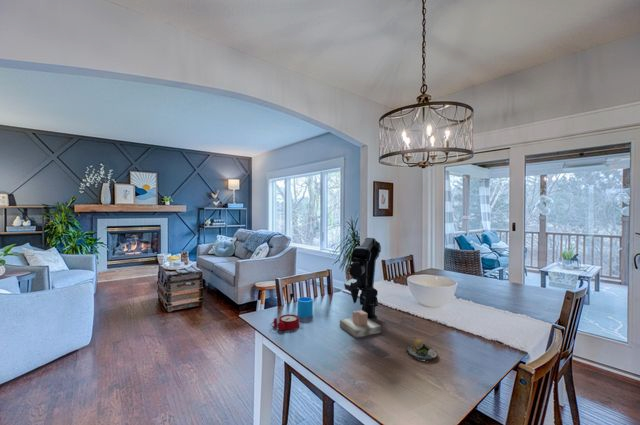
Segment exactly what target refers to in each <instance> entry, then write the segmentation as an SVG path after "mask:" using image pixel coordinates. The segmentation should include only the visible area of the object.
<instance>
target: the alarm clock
mask: <svg viewBox="0 0 640 425" xmlns="http://www.w3.org/2000/svg"><path fill="white" fill-rule="evenodd" d="M278 320H279V321H278ZM299 321H300V322H301V319H299V316H298V315H296V314H284V315H280V316H279V318H277V317H274V319H273V321H272V323H270V326H271V327H272V328H277V329H278V331H281V332H284V331H292V330H296V329H298V328H299V327H300V322H299ZM272 324H273V325H272Z"/></svg>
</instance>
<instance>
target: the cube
mask: <svg viewBox="0 0 640 425" xmlns="http://www.w3.org/2000/svg"><path fill="white" fill-rule="evenodd" d="M352 318H353V322H354V323H355V324H357V325H358V326H360V325H365V324H367V318H368V313H366V312H364V311H362V309H360V310H353V311H352Z"/></svg>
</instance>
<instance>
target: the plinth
mask: <svg viewBox="0 0 640 425" xmlns="http://www.w3.org/2000/svg"><path fill="white" fill-rule="evenodd" d="M339 327H340V328H342V329H343V330H344V331H346V332H347V333H348V334H350V335H351V336H353V337H354V338H355V339H357V338H362V337H366V336H367V337H368V336H371V335H375V334H379V333H382V325H380V324H378V323H376V321H373V320H371V318H369V319H368V318H367V324H365V325H360V326H358V325H357V324H355V323H354V322H353V317H349V318H345V319H344V318H343V319H339Z"/></svg>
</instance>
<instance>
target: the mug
mask: <svg viewBox="0 0 640 425" xmlns="http://www.w3.org/2000/svg"><path fill="white" fill-rule="evenodd" d="M313 302H314V299H313V298H312V297H309V296H302V297H299V298H297V311H296V312H297V315H296V316H298V317H300V318H309V317H312V316H313V314H314V313H313V311H314V310H313V309H314V306H313V305H314V304H313Z"/></svg>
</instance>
